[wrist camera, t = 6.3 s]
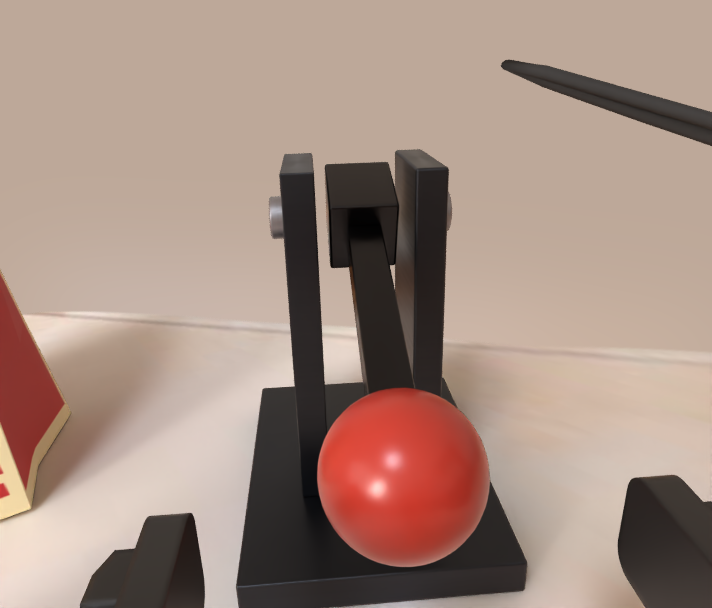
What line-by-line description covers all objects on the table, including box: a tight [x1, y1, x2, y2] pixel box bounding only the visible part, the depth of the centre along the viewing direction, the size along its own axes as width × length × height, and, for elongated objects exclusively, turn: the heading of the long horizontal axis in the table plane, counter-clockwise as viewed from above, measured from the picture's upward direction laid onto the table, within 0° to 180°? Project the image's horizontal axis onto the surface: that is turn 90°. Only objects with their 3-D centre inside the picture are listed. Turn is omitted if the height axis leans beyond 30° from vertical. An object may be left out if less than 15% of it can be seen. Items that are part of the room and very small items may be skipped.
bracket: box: [236, 149, 527, 608], centre depth 22 cm, size 12×9×13 cm
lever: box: [317, 162, 490, 567], centre depth 16 cm, size 13×4×4 cm, turn 5°
